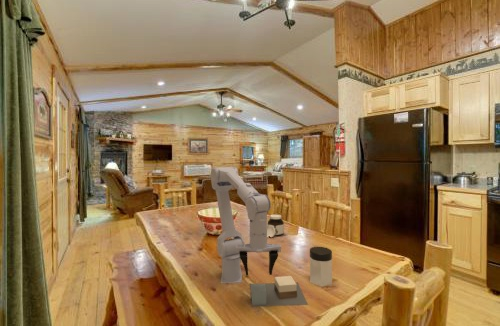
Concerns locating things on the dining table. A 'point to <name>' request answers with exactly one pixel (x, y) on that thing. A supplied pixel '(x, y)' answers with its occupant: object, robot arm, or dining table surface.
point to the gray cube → (258, 294)
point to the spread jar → (275, 226)
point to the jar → (320, 266)
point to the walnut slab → (285, 293)
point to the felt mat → (274, 300)
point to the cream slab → (285, 284)
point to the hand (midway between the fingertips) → (258, 273)
